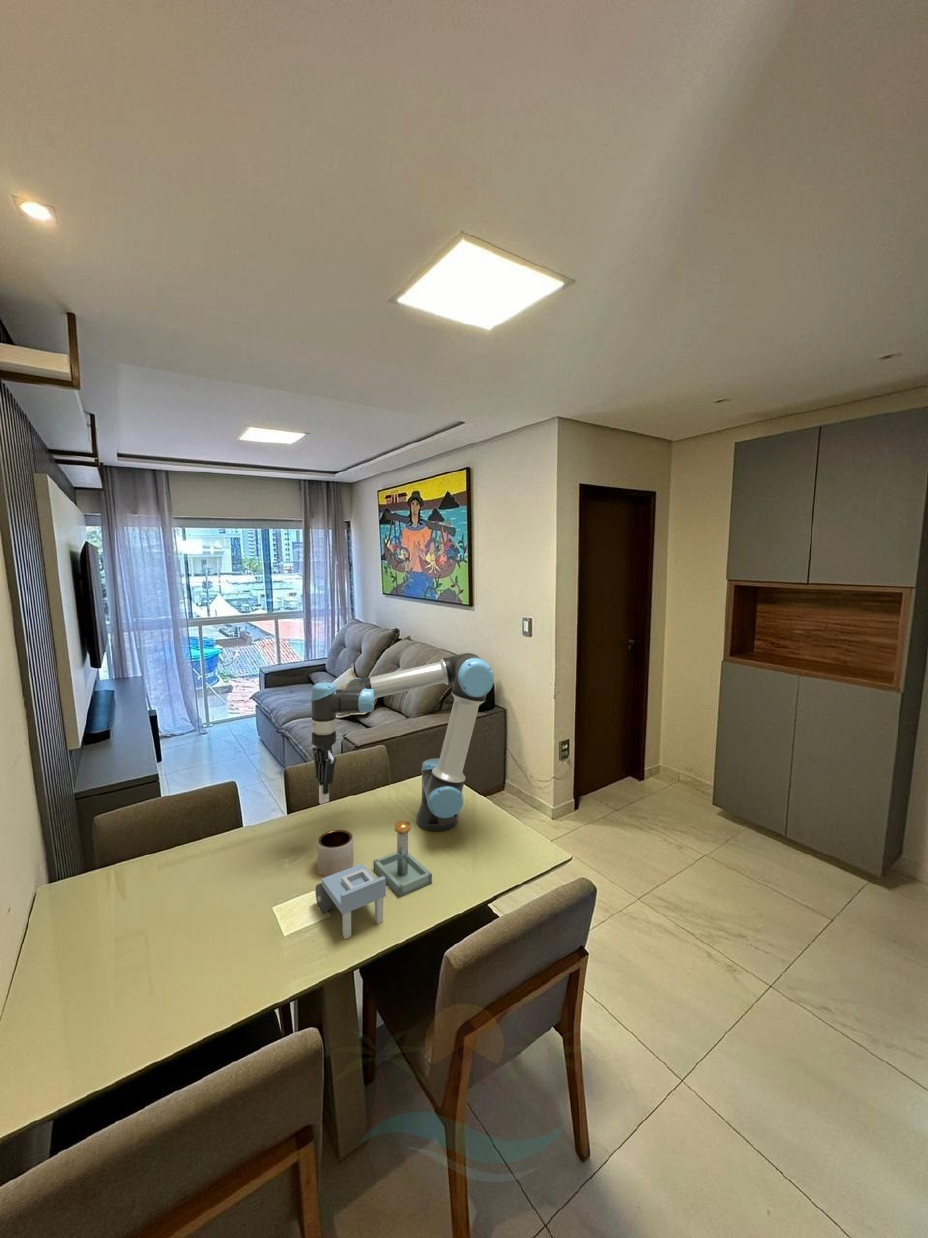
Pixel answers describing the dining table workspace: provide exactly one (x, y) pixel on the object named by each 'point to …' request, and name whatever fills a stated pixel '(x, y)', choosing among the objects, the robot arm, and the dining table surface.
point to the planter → (334, 852)
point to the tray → (402, 884)
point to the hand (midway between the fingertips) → (324, 802)
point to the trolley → (351, 893)
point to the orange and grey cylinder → (402, 846)
